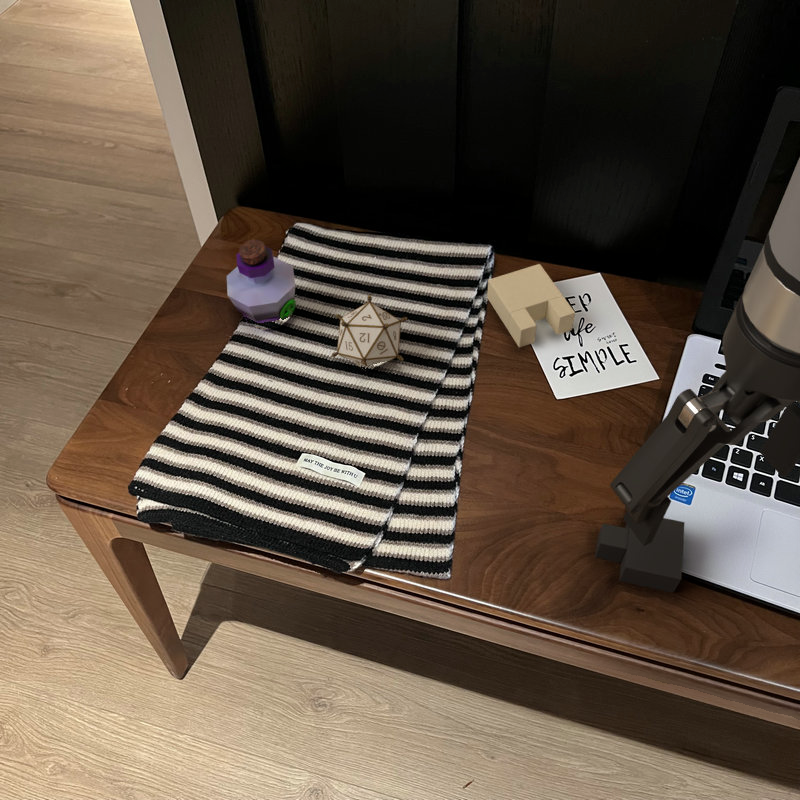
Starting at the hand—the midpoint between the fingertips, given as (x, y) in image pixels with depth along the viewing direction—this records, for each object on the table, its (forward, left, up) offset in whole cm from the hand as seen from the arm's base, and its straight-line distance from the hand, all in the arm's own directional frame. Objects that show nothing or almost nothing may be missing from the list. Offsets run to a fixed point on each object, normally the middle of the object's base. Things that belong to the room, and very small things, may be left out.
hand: (707, 495), depth 62 cm
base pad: (+35, -3, -15) cm, 39 cm away
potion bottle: (+48, +26, -16) cm, 57 cm away
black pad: (+3, +2, -15) cm, 16 cm away
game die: (+37, +17, -16) cm, 43 cm away
